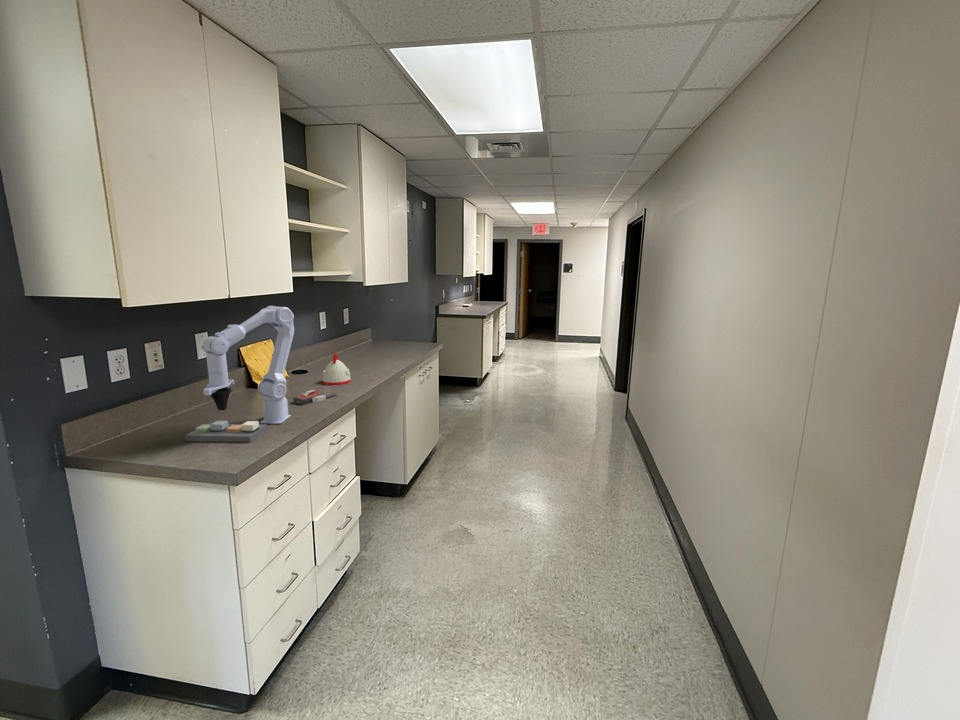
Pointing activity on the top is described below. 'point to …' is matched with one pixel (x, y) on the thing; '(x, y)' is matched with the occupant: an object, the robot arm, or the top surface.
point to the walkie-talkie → (310, 397)
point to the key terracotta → (234, 428)
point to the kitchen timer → (336, 373)
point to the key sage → (203, 428)
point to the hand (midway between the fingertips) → (222, 409)
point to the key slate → (219, 426)
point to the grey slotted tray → (226, 435)
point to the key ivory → (250, 426)
